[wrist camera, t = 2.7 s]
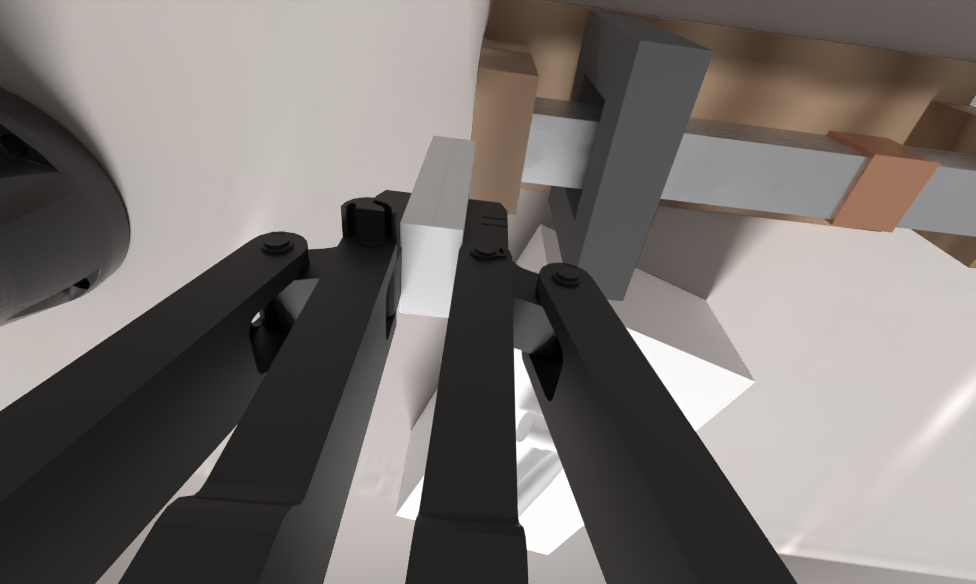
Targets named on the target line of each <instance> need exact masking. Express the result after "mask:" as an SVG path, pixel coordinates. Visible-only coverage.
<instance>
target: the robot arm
mask: <svg viewBox="0 0 976 584" xmlns="http://www.w3.org/2000/svg"><path fill="white" fill-rule="evenodd" d="M475 147H476V141H470V140H463V139H455V138H447V137H439V136H433V139H432V141H431V144H430V146H429V149H428V152H427V154H426V157H425V160H424V162H423V165H422V167H421V170H420V173H419V175H418V178H417V180H416V183H415V186H414V188H413V191H412V193H407V192H399V191H391V190H386V191H384V192H382V193H381V194H379V195H377V196H376V197H375V198H368V197H363V198H356V199H352V200H349V201H347V202H345V203H344V204H343V205H342V206H341V216H342V231H343V238H342V239H341V241H340V243H339V245H338V246H337V247H333V248H325V249H310V250H308V244H307V241H306V240H305V239H304V238H303V237H302V236H300V235H297V234H295V233H289V232H280V231H279V232H271V233H267V234H263V235H260V236H258V237H256V238H254V239H252V240H250V241H249V242H248V243H246V244H245V245H243V246H242V247H240V248H239V249H237V250H236V251H234V252H233V253H231V254H230V255H228V256H227V257H226V258H224V259H223V260H221V261H220V262H218V263H217V264H215V265H214V266H212V267H211V268H209V269H208V270H207V271H205V272H204V273H202V274H201V275H199V276H198V277H196V278H195V279H193V280H192V281H190V282H189V283H187V284H186V285H185V286H183V287H182V288H180V289H179V290H177V291H176V292H174V293H173V294H171V295H170V296H168V297H167V298H166V299H164V300H163V301H161V302H160V303H158V304H157V305H155V306H154V307H152V308H151V309H149V310H148V311H146V312H145V313H144V314H142V315H141V316H139V317H138V318H136V319H135V320H133V321H132V322H130V323H129V324H127V325H126V326H125V327H123V328H122V329H120V330H119V331H117V332H116V333H114V334H113V335H111V336H110V337H108V338H107V339H105V340H104V341H103V342H101V343H100V344H98V345H97V346H95V347H94V348H92V349H91V350H89V351H88V352H86V353H85V354H84V355H82V356H81V357H79V358H78V359H76V360H75V361H73V362H72V363H70V364H69V365H67V366H66V367H64V368H63V369H62V370H60V371H59V372H57V373H56V374H54V375H53V376H51V377H50V378H48V379H47V380H45V381H44V382H43V383H41V384H40V385H38V386H37V387H35V388H34V389H32V390H31V391H29V392H28V393H26V394H25V395H23V396H22V397H21V398H19V399H18V400H16V401H15V402H13V403H12V404H10V405H9V406H7V407H6V408H4V409H3V410H2V411H0V584H95V583H96V582H97V581H98V580H99V579H100V578H101V576H102V575H103V574H104V573H105V572H106V571H107V570H108V568H109V567H110V566H111V565H112V564H113V563H114V562H115V561H116V560H117V558H118V557H119V556H120V555H121V554H122V553H123V552H124V551H125V550H126V548H127V547H128V546H129V545H130V544H131V543H132V542H133V541H134V539H135V538H136V537H137V536H138V535H139V534H140V533H141V531H143V529H144V528H145V527H146V526H147V525H148V524H149V523H150V522H151V520H152V519H153V518H154V517H155V516H156V515H157V514H158V513H159V511H160V510H161V509H162V508H163V507H164V506H165V505H166V503H168V501H169V500H170V499H171V498H172V497H173V496H174V495H175V493H176V492H177V491H178V490H179V489H180V488H181V487H182V486H183V485H184V483H185V482H186V481H187V480H188V479H189V478H190V477H191V476H192V474H193V473H194V472H195V471H196V470H197V469H198V468H199V467H200V466H201V465H202V463H203V462H204V461H205V460H206V459H207V458H208V457H209V456H210V454H211V453H212V452H213V451H214V450H215V449H216V448H217V447H218V445H219V444H220V443H221V442H222V441H223V440H224V439H225V438H226V437H227V435H228V434H229V433H230V432H231V431H232V430H233V429H234V428H235V426H236V425H237V424H238V425H237V427H236V429H235V430H234V432H233V434H232V436H231V437H230V439H229V441H228V443H227V445H226V446H225V448H224V450H223V452H222V454H221V455H220V457H219V459H218V461H217V462H216V464H215V466H214V468H213V470H212V471H211V473H210V475H209V477H208V479H207V480H206V482H205V483H204V485H203V486H202V488H201V489H200V491H199V492H197V493H196V494H195V495H192V496H185V497H179V498H177V499H176V500H175V501H174V502H172V503H171V504H170V505H169V506H167V508H166V509H165V510H164V512H163V513H162V514H161V516H160V517H159V518H158V520H157V521H156V522H155V524H154V526H153V527H152V529H151V530H150V532H149V534H148V535H147V537H146V539H145V541H144V542H143V544H142V545H141V547H140V549H139V550H138V552H137V553H136V555H135V557H134V558H133V560H132V562H131V564H130V565H129V567H128V568H127V570H126V572H125V573H124V575H123V577H122V578H121V580H120V581H119V583H118V584H323V582H324V578H325V575H326V571H327V568H328V564H329V561H330V557H331V554H332V550H333V547H334V543H335V539H336V536H337V533H338V529H339V526H340V521H341V518H342V515H343V511H344V508H345V504H346V500H347V497H348V494H349V490H350V487H351V483H352V480H353V476H354V472H355V469H356V465H357V462H358V458H359V455H360V451H361V448H362V444H363V441H364V437H365V434H366V430H367V427H368V423H369V419H370V416H371V412H372V409H373V405H374V402H375V398H376V395H377V391H378V388H379V384H380V381H381V377H382V373H383V370H384V366H385V363H386V359H387V356H388V352H389V349H390V345H391V342H392V338H393V335H394V331H395V328H396V309H397V306H398V303H399V313H408V314H417V315H426V316H435V317H444V318H448V324H447V331H446V337H445V344H444V350H443V357H442V363H441V370H440V376H439V383H438V390H437V396H436V403H435V409H434V416H433V422H432V429H431V435H430V442H429V448H428V455H427V461H426V468H425V474H424V481H423V487H422V494H421V500H420V506H419V512H418V515H417V517H416V521H415V526H414V532H413V538H412V544H411V550H410V556H409V563H408V569H407V576H406V582H405V584H528V564H527V545H526V535H525V531H524V527H523V526H522V525H521V524H520V523H519V519H518V495H517V455H516V415H515V374H514V348H516V349H518V350H521V351H522V352H521V353H522V360H523V363H524V365H525V368H526V371H527V373H528V376H529V379H530V381H531V384H532V387H533V389H534V392H535V395H536V397H537V400H538V403H539V405H540V408H541V411H542V413H543V416H544V419H545V421H546V424H547V427H548V429H549V432H550V434H551V437H552V440H553V442H554V445H555V448H556V450H557V453H558V456H559V458H560V461H561V464H562V466H563V469H564V472H565V474H566V477H567V480H568V482H569V485H570V488H571V490H572V493H573V496H574V498H575V501H576V504H577V506H578V509H579V512H580V514H581V517H582V520H583V522H584V525H585V528H586V530H587V533H588V535H589V538H590V541H591V543H592V546H593V549H594V551H595V554H596V556H597V559H598V562H599V565H600V567H601V570H602V573H603V575H604V578H605V581H606V583H607V584H797V583H796V581H795V579H794V578H793V576H792V575H791V573H790V572H789V570H788V569H787V568H786V566H785V564H784V563H783V562H782V560H781V559H780V557H779V556H778V554H777V552H776V551H775V550H774V548H773V547H772V545H771V544H770V542H769V541H768V539H767V538H766V536H765V535H764V533H763V532H762V530H761V529H760V527H759V526H758V524H757V523H756V521H755V520H754V518H753V517H752V515H751V514H750V512H749V511H748V509H747V508H746V506H745V505H744V503H743V502H742V500H741V499H740V497H739V496H738V494H737V493H736V491H735V490H734V488H733V487H732V485H731V484H730V482H729V481H728V479H727V478H726V476H725V475H724V473H723V472H722V470H721V469H720V467H719V466H718V464H717V463H716V461H715V460H714V458H713V457H712V455H711V454H710V452H709V451H708V449H707V448H706V447H705V445H704V444H703V442H702V441H701V439H700V438H699V436H698V435H697V433H696V432H695V430H694V429H693V427H692V426H691V424H690V423H689V421H688V420H687V418H686V417H685V415H684V414H683V412H682V411H681V409H680V408H679V406H678V405H677V403H676V402H675V400H674V399H673V397H672V396H671V394H670V393H669V391H668V390H667V388H666V387H665V385H664V384H663V382H662V381H661V379H660V378H659V376H658V375H657V373H656V372H655V370H654V369H653V367H652V366H651V364H650V363H649V361H648V360H647V358H646V357H645V355H644V354H643V352H642V351H641V349H640V348H639V347H638V345H637V344H636V342H635V341H634V339H633V338H632V336H631V335H630V333H629V332H628V330H627V329H626V327H625V326H624V324H623V323H622V321H621V320H620V318H619V317H618V315H617V314H616V312H615V311H614V309H613V308H612V306H611V305H610V303H609V302H608V300H607V299H606V297H605V296H604V294H603V293H602V291H601V290H600V288H599V287H598V285H597V284H596V282H595V281H594V279H593V278H592V277H591V276H590V275H589V274H588V273H587V272H586V271H585V270H583V269H581V268H579V267H578V266H575V265H573V264H572V265H571V264H569V263H558V262H557V263H550V264H547V265H545V266H543V267H542V268H541V270H540V272H539V274H538V273H535V272H532V271H529V270H526V269H524V268H522V267H520V266H518V265H517V264H516V263H514V262H513V261H512V256H511V253H510V251H509V250H508V228H507V227H508V222H507V210H506V209H505V208H504V206H503V205H502V204H501V203H499V202H491V201H483V200H474V199H470V194H471V184H472V175H473V165H474V156H475ZM128 247H129V225H128V220H127V216H126V212H125V209H124V206H123V204H122V202H121V199H120V197H119V195H118V193H117V191H116V189H115V188H114V186H113V184H112V182H111V181H110V179H109V178H108V176H107V175H106V173H105V172H104V171H103V169H102V168H101V166H100V165H99V164H98V163H97V162H96V160H95V159H94V158H93V157H92V156H91V154H90V153H89V152H88V151H87V150H86V149H85V148H84V147H83V146H82V145H81V144H80V143H79V142H78V141H77V140H76V139H75V138H74V137H73V136H72V135H71V134H69V133H68V132H67V131H66V130H65V129H64V128H62V127H61V126H60V125H59V124H57V123H56V122H55V121H54V120H52V119H51V118H50V117H48V116H47V115H45V114H44V113H43V112H41V111H40V110H38V109H37V108H35V107H34V106H32V105H30V104H29V103H27V102H25V101H24V100H22V99H20V98H18V97H17V96H15V95H13V94H11V93H9V92H7V91H5V90H3V89H1V88H0V326H3V325H5V324H8V323H11V322H14V321H16V320H19V319H22V318H25V317H27V316H30V315H33V314H36V313H38V312H41V311H44V310H47V309H49V308H52V307H55V306H58V305H60V304H63V303H66V302H69V301H71V300H74V299H77V298H79V297H81V296H83V295H85V294H87V293H89V292H90V291H92V290H93V289H95V288H96V287H97V286H98V285H100V284H101V283H102V282H103V281H104V280H106V279H107V278H108V277H109V276H110V275H112V274H113V273H114V272H115V271H116V270H117V269H118V268H119V267H120V265H121V264H122V263H123V261H124V259H125V257H126V254H127V251H128ZM258 312H259V314H260V317H259V318H258V319H257V320H256V321H255V322H253V323H251V322H252V319H253V318H254V317H255V316H256V314H257V313H258Z"/></svg>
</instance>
